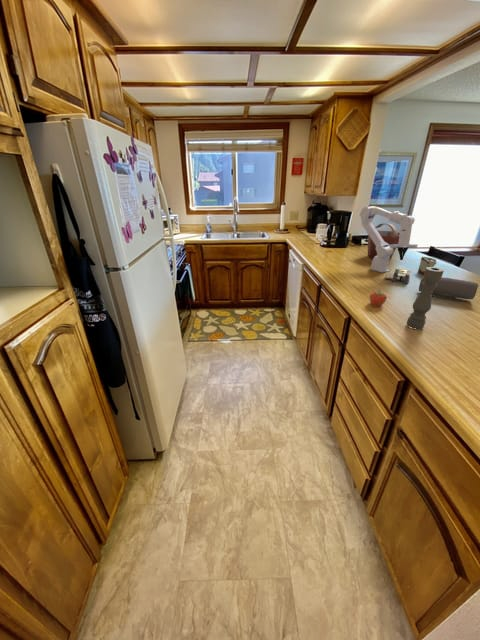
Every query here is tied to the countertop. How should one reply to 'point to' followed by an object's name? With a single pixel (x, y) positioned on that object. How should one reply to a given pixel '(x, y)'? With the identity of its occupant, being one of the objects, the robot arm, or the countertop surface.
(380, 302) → the tomato
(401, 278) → the tube
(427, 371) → the countertop surface
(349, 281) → the countertop surface
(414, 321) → the candle holder
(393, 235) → the bucket
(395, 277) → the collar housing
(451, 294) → the bluetooth speaker
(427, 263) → the food container
